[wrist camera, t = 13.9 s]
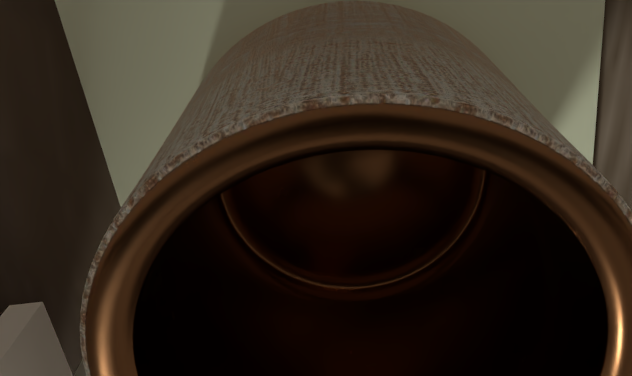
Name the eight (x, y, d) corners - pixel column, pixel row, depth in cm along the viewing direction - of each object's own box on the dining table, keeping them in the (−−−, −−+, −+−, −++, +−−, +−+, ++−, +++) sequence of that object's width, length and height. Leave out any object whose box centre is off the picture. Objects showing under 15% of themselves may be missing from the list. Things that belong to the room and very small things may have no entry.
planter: (450, 323, 22) (529, 590, 14) (166, 264, 21) (57, 511, 13) (571, 45, 18) (808, 181, 9) (214, -47, 17) (93, 5, 8)
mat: (166, 329, 23) (163, 339, 23) (61, -8, 18) (53, -5, 17) (576, 289, 22) (582, 298, 22) (602, -86, 16) (611, -86, 16)
